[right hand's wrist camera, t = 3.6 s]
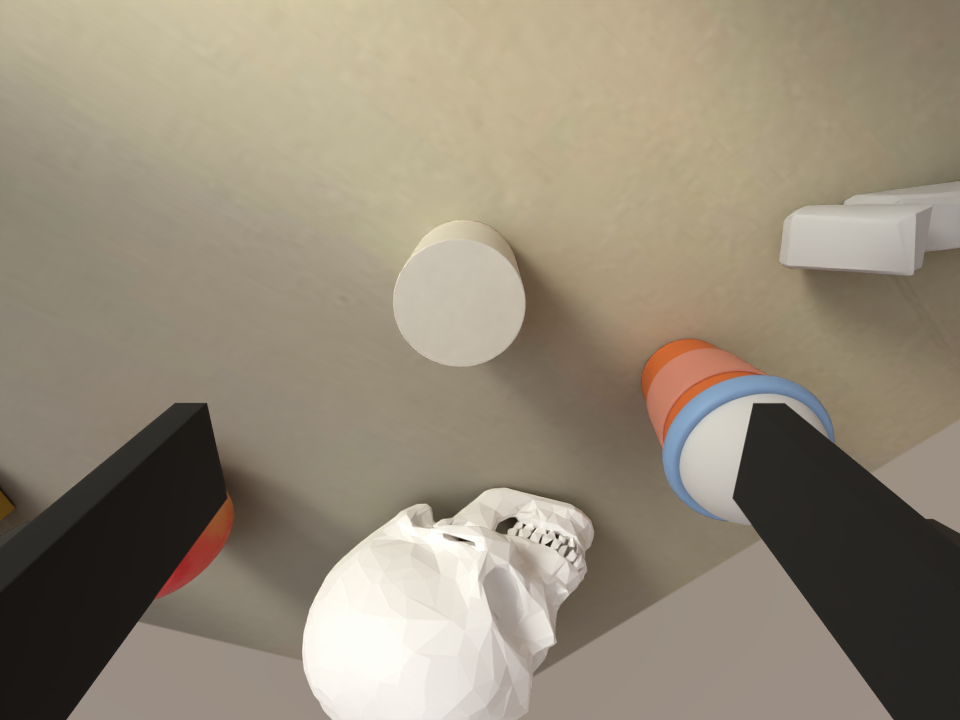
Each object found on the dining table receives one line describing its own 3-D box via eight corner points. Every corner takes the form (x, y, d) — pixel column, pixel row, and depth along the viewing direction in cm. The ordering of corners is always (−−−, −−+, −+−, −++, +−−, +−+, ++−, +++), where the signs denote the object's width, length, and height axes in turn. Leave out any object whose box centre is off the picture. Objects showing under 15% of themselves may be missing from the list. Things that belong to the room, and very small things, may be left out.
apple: (118, 430, 40) (9, 515, 31) (240, 426, 40) (167, 511, 31) (152, 529, 44) (64, 632, 35) (264, 526, 44) (205, 629, 34)
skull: (609, 563, 45) (669, 760, 30) (379, 627, 48) (330, 835, 33) (563, 435, 41) (605, 592, 26) (313, 515, 44) (222, 696, 29)
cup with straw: (759, 402, 39) (965, 594, 22) (644, 448, 41) (756, 659, 24) (725, 296, 36) (936, 428, 19) (602, 350, 37) (697, 515, 21)
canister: (485, 343, 37) (486, 387, 31) (392, 296, 36) (371, 331, 29) (537, 253, 35) (550, 279, 28) (439, 199, 34) (428, 213, 27)
